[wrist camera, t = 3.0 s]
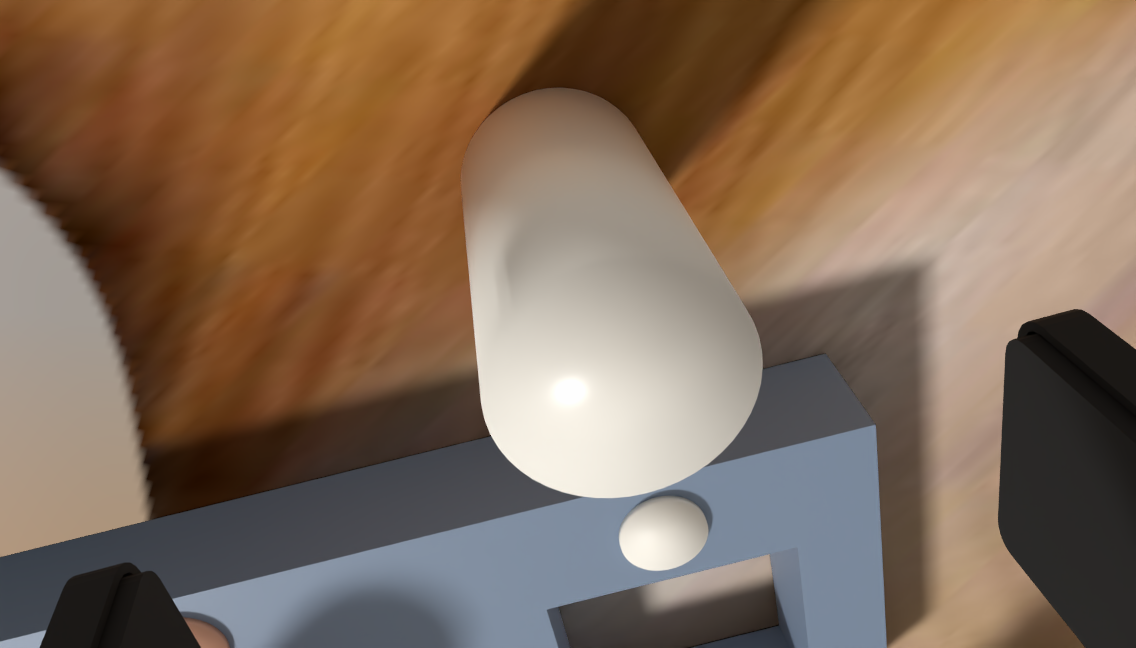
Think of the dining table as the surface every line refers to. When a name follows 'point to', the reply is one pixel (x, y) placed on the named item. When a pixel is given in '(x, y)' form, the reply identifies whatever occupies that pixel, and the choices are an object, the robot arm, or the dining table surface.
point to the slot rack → (510, 543)
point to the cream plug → (597, 304)
